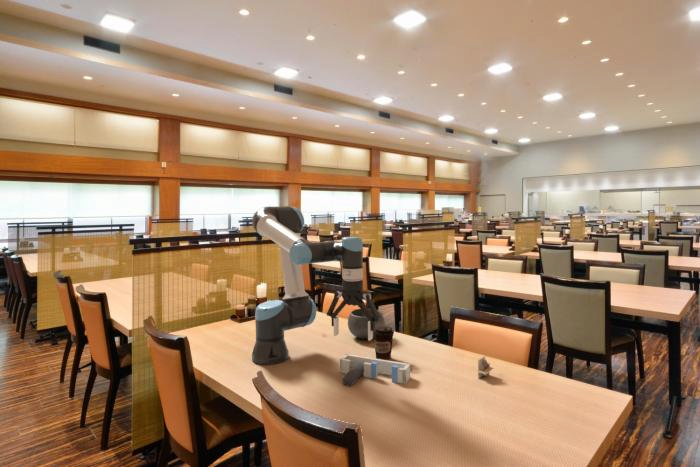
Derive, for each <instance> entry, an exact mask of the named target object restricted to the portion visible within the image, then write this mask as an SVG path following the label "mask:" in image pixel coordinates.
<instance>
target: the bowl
mask: <svg viewBox="0 0 700 467" xmlns="http://www.w3.org/2000/svg"><path fill="white" fill-rule="evenodd" d="M368 309H369V311H370V312H371V310H370V308H368ZM377 312H378V314H379V316H380V319H379V320H378V321H375V330H376V327H382V326H386V324H385V322H386V321H385V318H384V315H383V313H382V311H381V310H378V309H377ZM368 322H369V319H368V318H367V317H366V315H365V314H364V313H363V311H362V310H361V308H356V309H354V310H352V311H351V312H349V315H348V317H347V329H348V330H349V332H350V333H351V334H352V335H353V336H354V337H356V338H358V339H361V340H362V339H363V340H368ZM375 330H374V331H375ZM374 331H373V339H374Z"/></svg>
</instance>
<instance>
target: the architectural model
mask: <svg viewBox="0 0 700 467" xmlns="http://www.w3.org/2000/svg"><path fill="white" fill-rule="evenodd" d="M477 361H478V362H477V365H478V366H477V379H480V378H482V377H486V378H487V377H488V376H490V372H491V371H493V369H494V367H491V366H490V365H491V364H490V362H488V361H487V359H486V356H485V355H483V357H481V358H479V359H478V360H477Z"/></svg>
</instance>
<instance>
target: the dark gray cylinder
mask: <svg viewBox="0 0 700 467" xmlns="http://www.w3.org/2000/svg"><path fill="white" fill-rule="evenodd" d="M362 375H364V365H363V364H362V363H358V364H357V365H356V366H354V367H353V368H352V369H351V368H350V371H349V372H348V373H345V374H344V375H343V376H342V379H341V380H342V384H343V385H344V386H348V387H351V386H352V385H353V384H354V383H355V382H356V381H357V380H358V379H359V378H360V377H361V376H362Z"/></svg>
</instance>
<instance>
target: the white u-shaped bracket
mask: <svg viewBox="0 0 700 467" xmlns="http://www.w3.org/2000/svg"><path fill="white" fill-rule="evenodd" d="M358 363H362V364H363V365H364V373H363V377H364V378H369V379H370V378H371V379H374V380H377V379H378V376H379V375H378V374H382V375H387V376H391V383H397V384H404V385H407V382H408V381H409V380H410V378H411V364H410V363H405V362H400V361H393V360H389V361H388V360H381V359H376V357H375V358H374V357H367V356H361V355H357V354H356V355H355V354H349V353H345V354H344V355H343V356H342V357H341V358H340V359H339V372H340V373H343V374H347V373H348V372H349V371H350V370H351V369H352V368H353V367H354V366H356V365H357V364H358Z"/></svg>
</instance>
